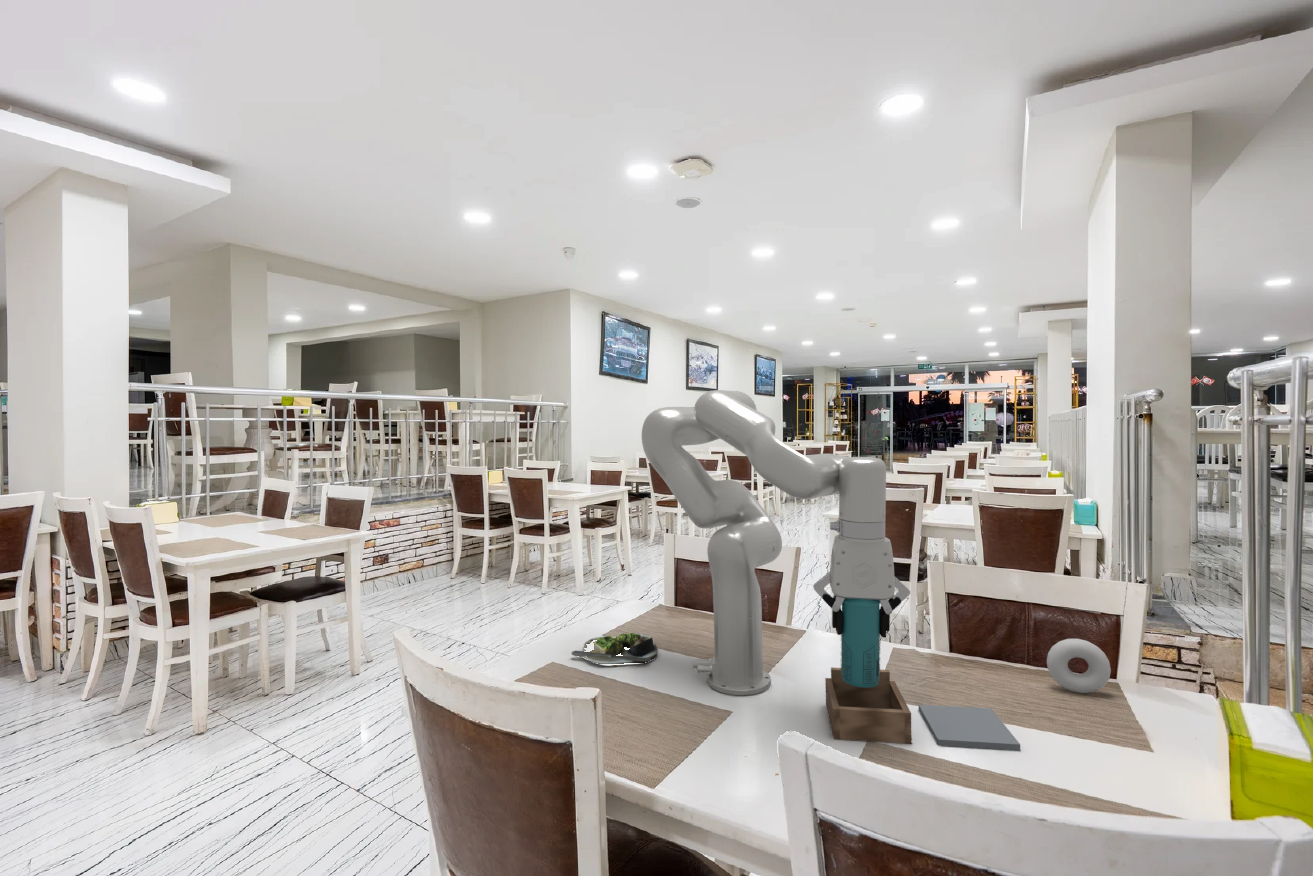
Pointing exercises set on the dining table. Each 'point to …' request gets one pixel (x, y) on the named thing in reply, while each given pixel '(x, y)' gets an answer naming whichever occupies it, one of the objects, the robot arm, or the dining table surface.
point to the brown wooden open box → (867, 710)
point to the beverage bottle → (860, 642)
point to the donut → (1072, 681)
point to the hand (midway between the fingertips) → (860, 632)
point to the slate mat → (967, 727)
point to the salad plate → (620, 649)
